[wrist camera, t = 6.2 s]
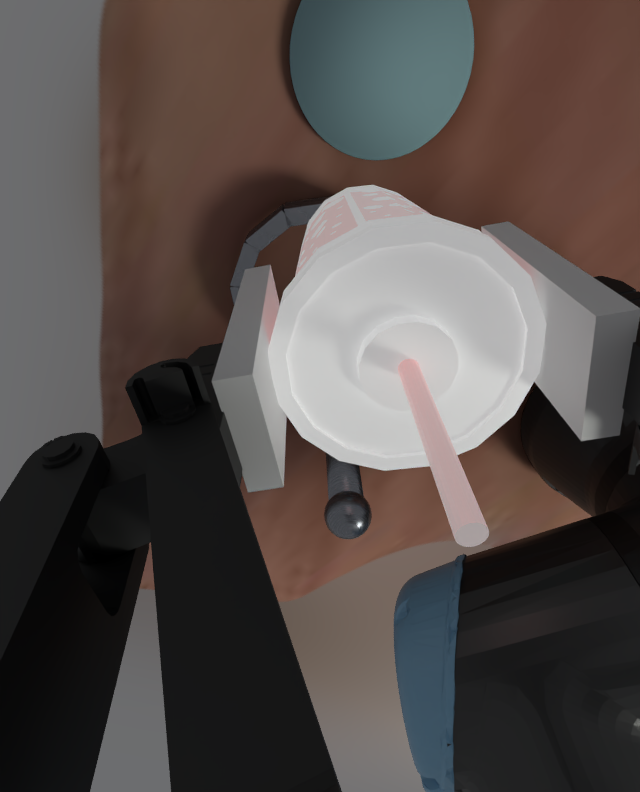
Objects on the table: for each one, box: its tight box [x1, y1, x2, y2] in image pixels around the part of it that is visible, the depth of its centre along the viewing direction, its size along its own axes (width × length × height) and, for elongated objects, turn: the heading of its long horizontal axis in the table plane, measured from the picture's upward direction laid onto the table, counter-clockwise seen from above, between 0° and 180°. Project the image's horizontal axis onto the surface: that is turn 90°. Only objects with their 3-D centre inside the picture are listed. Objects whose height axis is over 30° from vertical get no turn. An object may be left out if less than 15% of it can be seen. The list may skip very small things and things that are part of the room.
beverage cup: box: [268, 185, 546, 547], centre depth 13 cm, size 6×6×14 cm
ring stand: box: [230, 196, 372, 539], centre depth 30 cm, size 18×11×14 cm, turn 8°
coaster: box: [290, 0, 474, 160], centre depth 28 cm, size 10×10×1 cm
